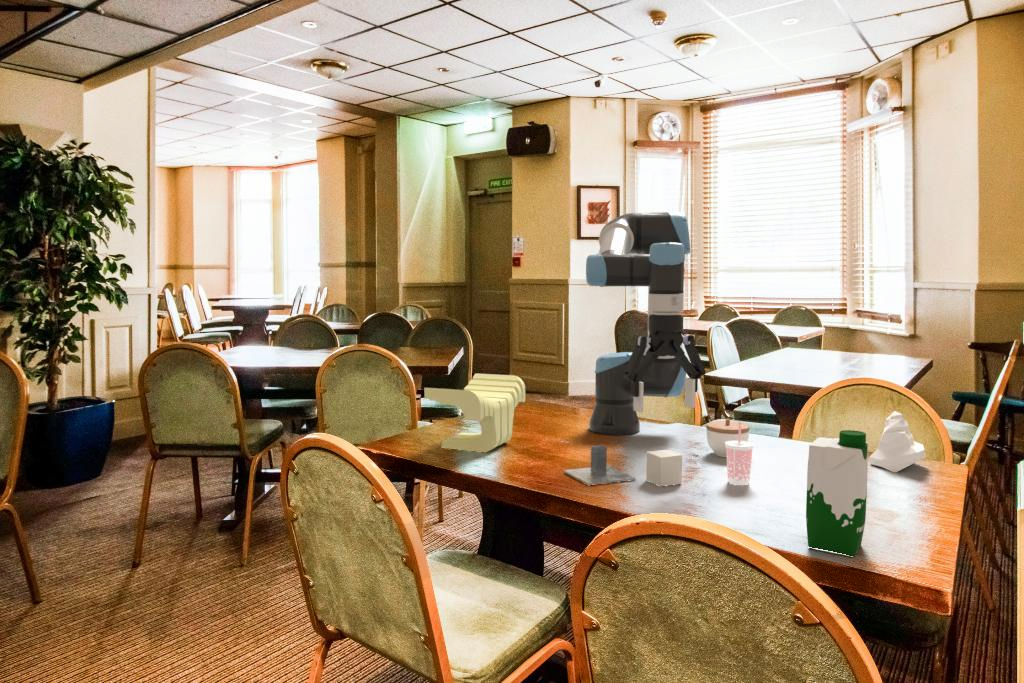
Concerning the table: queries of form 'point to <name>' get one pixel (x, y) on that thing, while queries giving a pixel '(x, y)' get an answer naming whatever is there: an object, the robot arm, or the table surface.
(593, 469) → the square grey base plate
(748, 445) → the beverage cup
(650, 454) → the cream cube
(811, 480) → the milk carton
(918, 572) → the table surface
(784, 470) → the table surface
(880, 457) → the soft serve ice cream
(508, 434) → the slatted curved stool
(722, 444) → the lidded jar
